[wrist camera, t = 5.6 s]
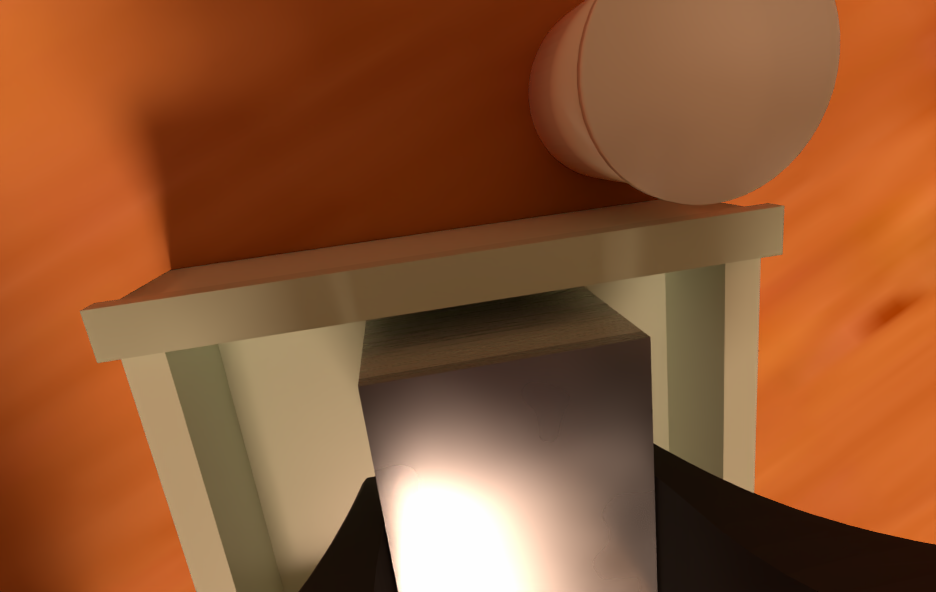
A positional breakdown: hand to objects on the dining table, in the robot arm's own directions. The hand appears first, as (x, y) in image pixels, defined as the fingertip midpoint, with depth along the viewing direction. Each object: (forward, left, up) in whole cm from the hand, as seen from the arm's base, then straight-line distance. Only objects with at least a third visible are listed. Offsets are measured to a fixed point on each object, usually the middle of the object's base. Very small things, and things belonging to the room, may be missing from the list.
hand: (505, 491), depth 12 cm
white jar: (+4, +8, -3) cm, 10 cm away
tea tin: (0, +1, -2) cm, 3 cm away
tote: (0, 0, -3) cm, 3 cm away
